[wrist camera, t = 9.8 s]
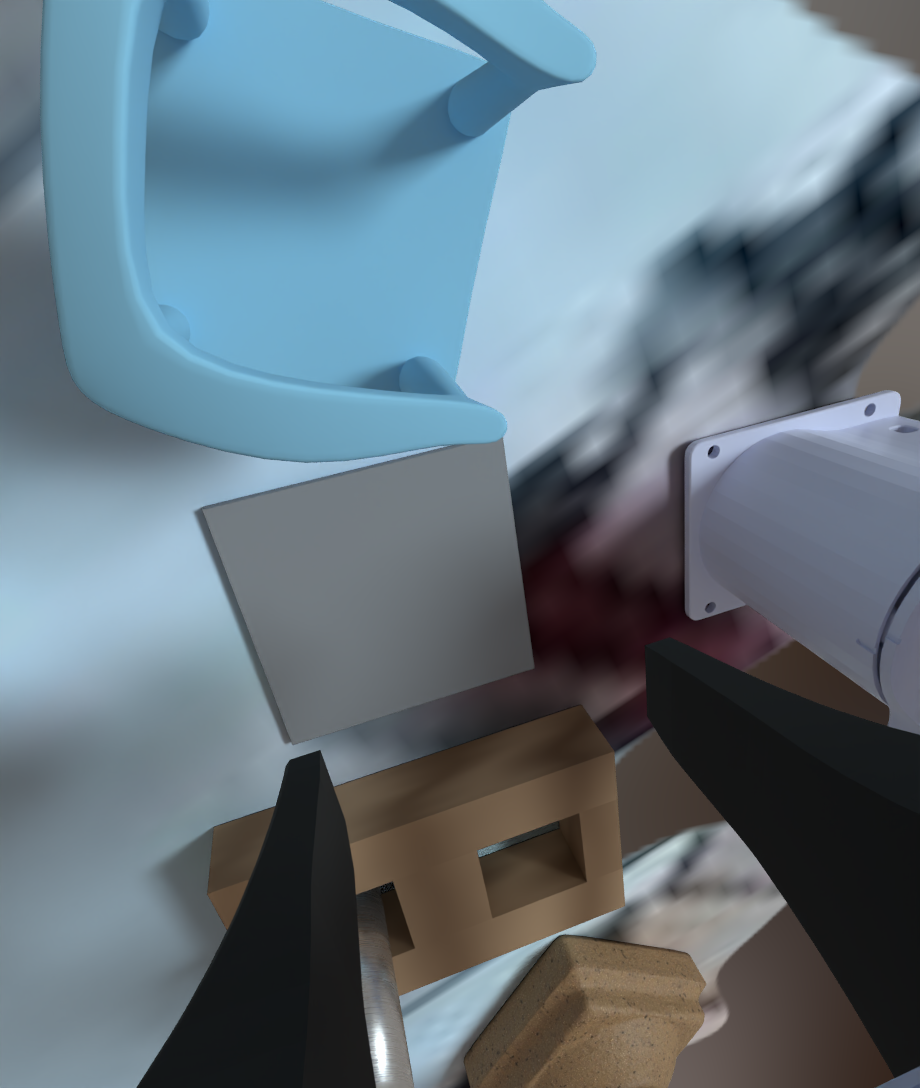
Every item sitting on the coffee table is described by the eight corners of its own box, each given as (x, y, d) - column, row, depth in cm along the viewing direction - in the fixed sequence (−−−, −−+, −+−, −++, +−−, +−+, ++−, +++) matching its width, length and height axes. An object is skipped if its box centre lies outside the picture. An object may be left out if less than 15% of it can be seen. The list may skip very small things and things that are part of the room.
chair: (414, 397, 20) (578, 544, 10) (129, 347, 17) (-71, 477, 7) (466, 124, 18) (767, -78, 7) (138, 13, 15) (-166, -596, 4)
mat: (499, 433, 21) (502, 436, 21) (531, 664, 26) (534, 668, 26) (203, 507, 20) (202, 510, 19) (292, 740, 24) (292, 745, 24)
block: (581, 704, 28) (614, 751, 25) (595, 853, 32) (625, 905, 29) (213, 826, 25) (207, 894, 22) (285, 970, 29) (287, 1040, 27)
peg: (370, 836, 27) (410, 1070, 19) (380, 881, 29) (420, 1118, 21) (301, 855, 27) (313, 1105, 19) (313, 901, 28) (330, 1152, 20)
